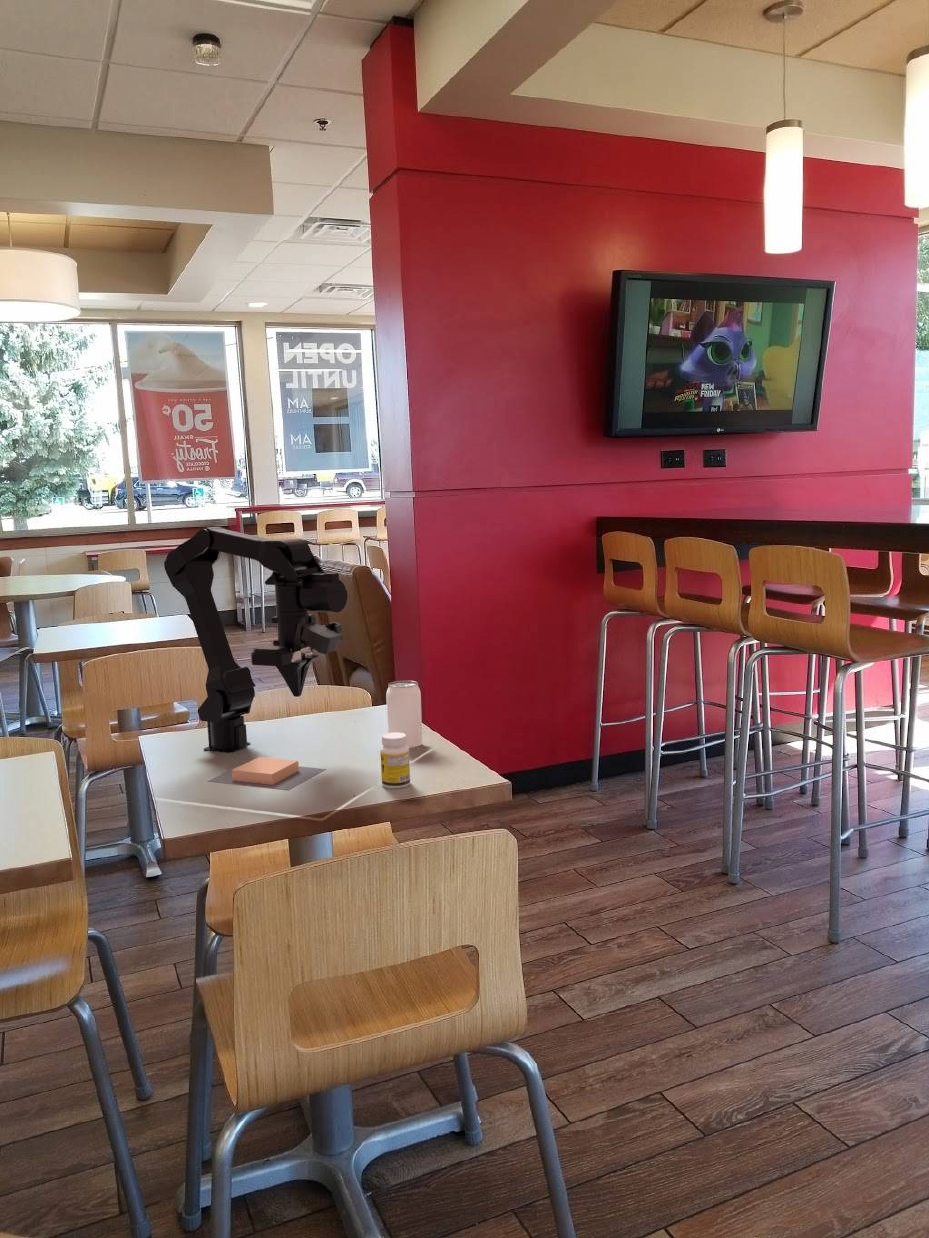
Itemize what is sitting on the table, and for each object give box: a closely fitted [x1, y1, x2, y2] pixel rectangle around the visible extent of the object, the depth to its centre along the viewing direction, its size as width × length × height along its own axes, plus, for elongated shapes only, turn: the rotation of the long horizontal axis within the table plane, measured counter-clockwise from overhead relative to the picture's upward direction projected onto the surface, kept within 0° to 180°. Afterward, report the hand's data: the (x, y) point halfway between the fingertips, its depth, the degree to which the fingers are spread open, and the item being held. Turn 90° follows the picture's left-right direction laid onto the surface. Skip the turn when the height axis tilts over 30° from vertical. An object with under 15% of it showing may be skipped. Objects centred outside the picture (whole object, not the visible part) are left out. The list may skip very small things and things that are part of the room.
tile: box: [231, 756, 300, 785], centre depth 160 cm, size 8×2×8 cm
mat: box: [208, 760, 327, 791], centre depth 161 cm, size 16×12×1 cm
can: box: [385, 680, 423, 749], centre depth 177 cm, size 6×6×12 cm
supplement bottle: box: [379, 732, 411, 790], centre depth 154 cm, size 5×5×8 cm
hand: (297, 696), depth 169 cm, fingers closed
